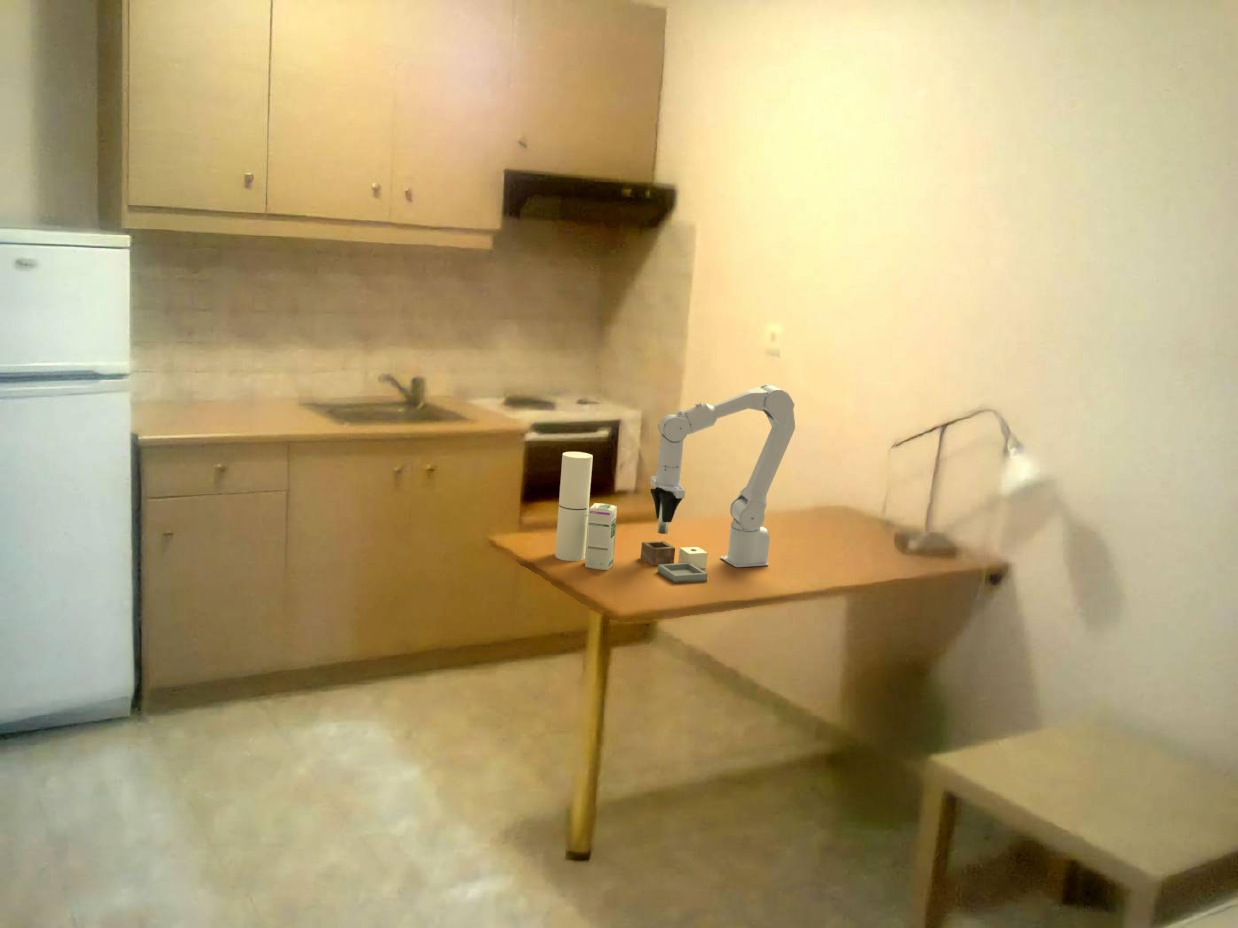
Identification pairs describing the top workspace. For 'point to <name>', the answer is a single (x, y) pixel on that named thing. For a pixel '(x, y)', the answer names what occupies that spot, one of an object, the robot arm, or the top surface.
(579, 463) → the cylindrical container
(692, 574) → the tray
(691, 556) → the small block
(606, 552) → the syrup box
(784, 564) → the top surface
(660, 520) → the cylinder
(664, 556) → the hollow square frame
